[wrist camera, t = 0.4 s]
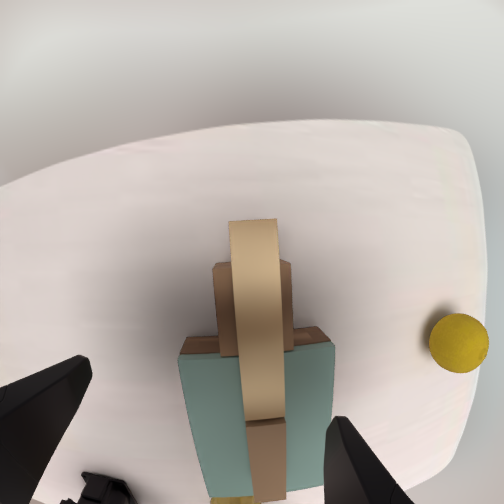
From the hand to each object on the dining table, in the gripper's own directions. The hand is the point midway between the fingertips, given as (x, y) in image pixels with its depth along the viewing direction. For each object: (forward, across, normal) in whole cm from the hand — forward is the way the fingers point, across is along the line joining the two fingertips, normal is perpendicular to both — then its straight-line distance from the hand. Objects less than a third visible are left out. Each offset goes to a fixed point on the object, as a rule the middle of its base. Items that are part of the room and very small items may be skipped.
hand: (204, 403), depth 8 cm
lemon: (+16, -20, +5) cm, 26 cm away
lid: (+8, -4, +13) cm, 15 cm away
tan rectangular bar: (+9, -1, +2) cm, 10 cm away
